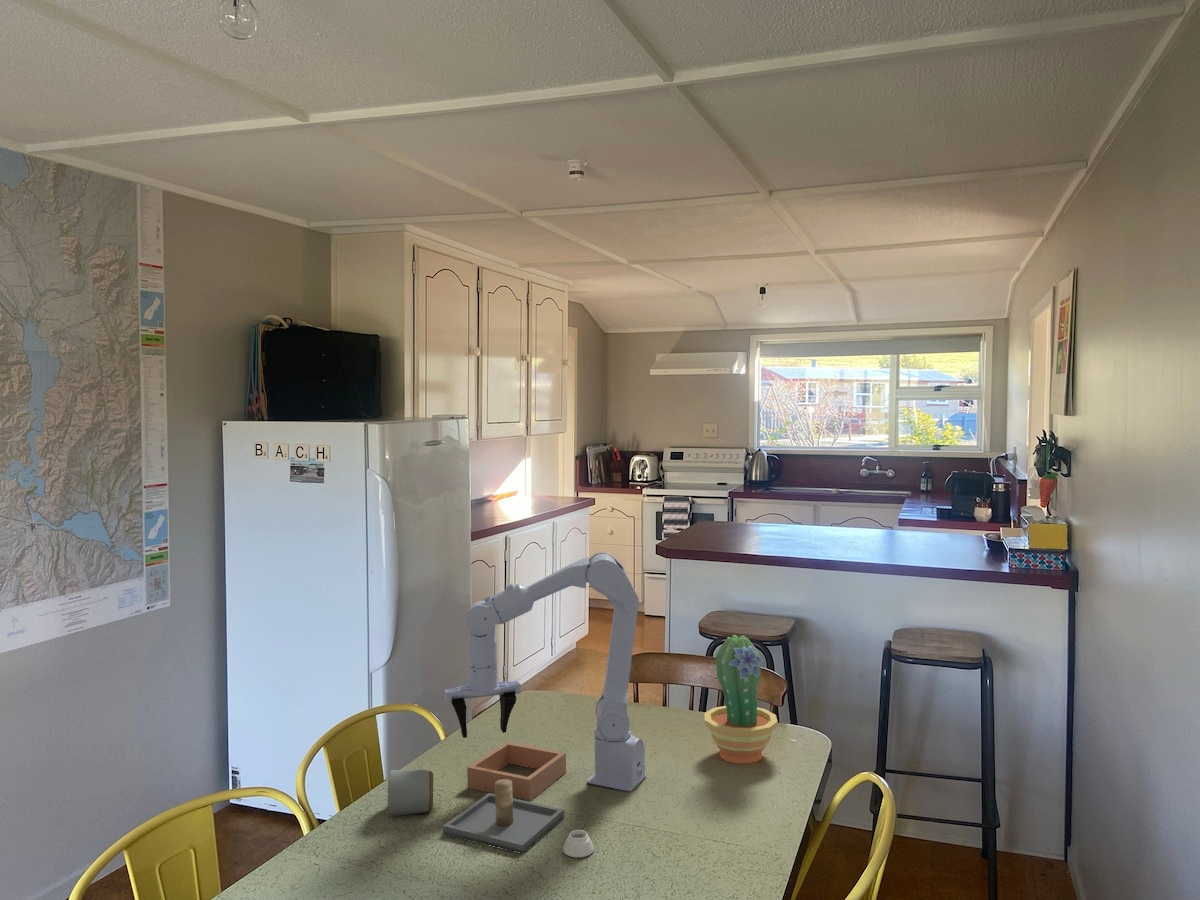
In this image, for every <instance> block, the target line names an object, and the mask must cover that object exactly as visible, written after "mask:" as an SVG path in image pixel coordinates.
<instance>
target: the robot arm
mask: <svg viewBox="0 0 1200 900" xmlns="http://www.w3.org/2000/svg"><path fill="white" fill-rule="evenodd" d="M587 583H588V584H589V586H590V588H592V589H593V590H594V591H596V592H598V593H599V594H601V595H603V596H605V597H606V599H607V600H608V601H609V602H610V603H611V604H612V605H613V607H614V608H613V613H612V621H611V622H612V623H611V628H610V629H611V630H610V638H609V645H608V646H609V648H608V652H607V653H608V654H607V661H606V662H607V663H606V669H605V677H604V683H603V686H602V691H601V696H600V697H599V699H598V701H597V702H596V705H595V715H596V719H597V720H596V727H597V728H595V730H594V732H593V733H594V737H593V738H594V739H593V740H594V741H593V742H594V774H593V775H591V776H590V777H589V778H588V779H587V780H586V783H587V784H591V785H596V786H600V787H606V788H610V789H611V788H612V789H615V790H621V791H626V792H632V791H633V790H634V789H635V788H636V786H638V785H639V784H640V783H641V782H642V781H643V780H644V779H645V778H646V777H647V773H646V768H645V767H646V765H645V764H646V763H645V762H646V758H645V757H646V756H645V751H646V750H645V743H644V740H643V739H642V738H638V737H637V736H634V735H633V734H632V731H631V728H630V727H631V725H630V724H631V721H630V718H629V715H628V700H629V699H628V696H629V695H628V692H629V681H630V675H631V666H632V659H633V658H632V657H633V650H634V643H635V635H636V629H637V628H636V627H637V618H638V611H639V604H640V602H639V599H640V598H639V596H638V593H637V591H636V590H635V588H634V586H633V583H632V582H631V580H630V578H629V576H628V574H627V572H626V571H625V569H624V567H623V565H622V563H621V562H619V561H618V560H617V558H615V556H613V555H612V554H610V553H608V552H597V553H595V554H593V555H592V556H590V557H589V556H587V557H583V558H581V559H579V560H576V561H575V562H573V563H570V564H568V565H566V566H565V567H562V568H561V569H558V570H557V571H554V572H552V573H551V574H549V575H547V576H545V577H543V578H541V579H540V580H537V581H535V582H534V583H532V584H530V585H524V584H523V583H522V584H521V583H517V584H515V585H514V584H513V582H512V583H510V584H508V585H506V587H505V588H506V589H504V590H503V591H501V592H498V593H496V594H494V595H492V596H490V595H489V594H488V595H486V596H485V597H484V598H483V600H479V601H476V602H474V603H473V604H472V605H471V606H470V607H469V609H468V611H467V613H466V615H465V619H464V623H465V627H466V629H467V633H466V634H467V642H466V647H467V648H466V651H467V652H466V653H467V684H466V685H462V686H457V687H453V688H446V689H444V700H445V703H451V705H452V707H453V709H454V712H455V713H456V716H457V719H458V722H459V727H460V731H461V736H462V739H465V738H468V729H467V705H466V700H467V699H475V698H477V699H478V698H484V697H493V696H499V707H500V718H499V720H500V721H499V722H500V723H499V727H500V731H501V732H502V733H507V730H508V723H509V720H510V715H511V713H512V711H513V709H514V707H515V704H516V701H517V696H516V695H520V694H521V693H522V692H521V691H522V689H521V688H522V687H521V686H522V684H521V683H520V681H519V680H517V681H516V680H514V681H499V680H498V677H499V676H498V641H497V638H496V626H497V625H504V624H505V623H507V622H510V621H512V620H514V619H516V618H519V617H520V616H523V615H525V614H526V613H528V612H530V611H531V612H532V609H533V606H534V603H535V602H537V601H539V600H541V599H543V598H546V597H548V596H552V595H553V594H554V593H555V594H556V593H558V592H560V591H562V590H565V589H567V588H569V587H577V588H581V589H587Z"/></svg>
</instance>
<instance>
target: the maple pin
mask: <svg viewBox="0 0 1200 900" xmlns="http://www.w3.org/2000/svg"><path fill="white" fill-rule="evenodd" d="M495 807H496V824H497V825H498V826H509V825H511V824H512V823H513V796H512V781H511V780H508V779H501V780H498V781H496V782H495Z"/></svg>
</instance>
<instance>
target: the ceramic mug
mask: <svg viewBox="0 0 1200 900" xmlns="http://www.w3.org/2000/svg"><path fill="white" fill-rule="evenodd" d="M387 779H388V780H387V781H388V782H387V783H388V784H387V812H386V813H387V816H388V817H394V816H402V815H403V816H405V815H411V814H413V815H414V814H423V813H427V812H430V811H431V810H432V809H433V807H434V773H433V772H432V771H431V770H427V769H412V770H411V769H409V770H408V769H407V770H406V769H405V770H404V769H398V770H397V769H392V770H389V772H388V778H387Z"/></svg>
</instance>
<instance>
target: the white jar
mask: <svg viewBox="0 0 1200 900" xmlns="http://www.w3.org/2000/svg"><path fill="white" fill-rule="evenodd" d="M562 850H563V853H564V854H565V855H566V856H568V857H571V858H576V859H579V858H585V857H587V856H588V857H589V856H590V855H591V854H592V853H593V852H594V851H595V846H594V843H593V841H592V839H591V837H590V836H589V835H588V832H587V831H586V830H582V829H574V830H572V831H570V832H569V833H568V836H567V838H566V840H565V841H564V844H563V846H562ZM578 857H579V858H578Z"/></svg>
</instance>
